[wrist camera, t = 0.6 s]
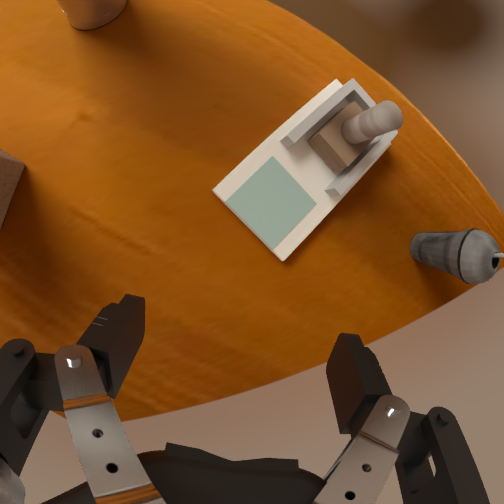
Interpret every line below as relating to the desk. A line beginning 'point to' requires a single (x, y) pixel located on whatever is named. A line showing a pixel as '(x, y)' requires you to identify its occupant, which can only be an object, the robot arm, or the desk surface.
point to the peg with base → (354, 132)
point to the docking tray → (297, 173)
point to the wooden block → (8, 181)
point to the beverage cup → (459, 253)
